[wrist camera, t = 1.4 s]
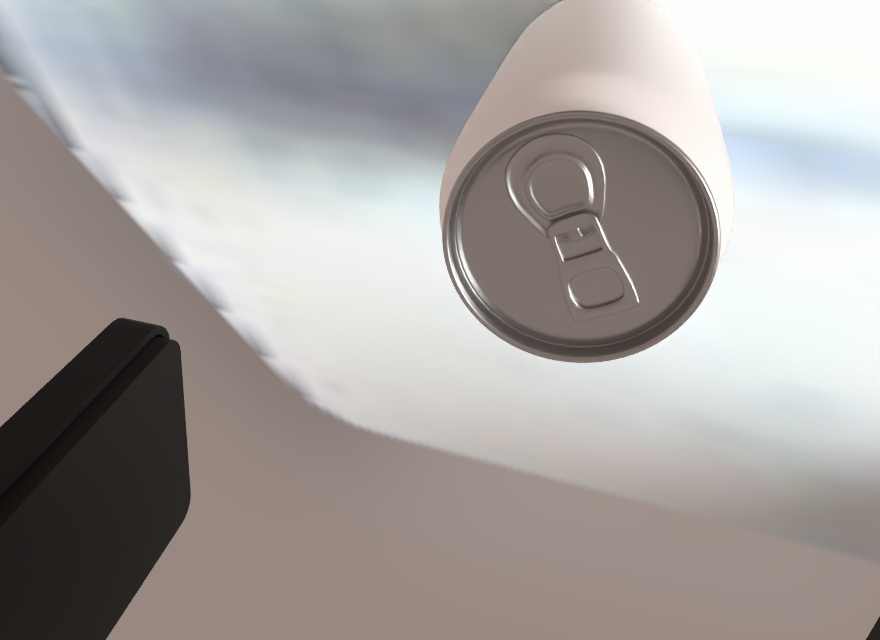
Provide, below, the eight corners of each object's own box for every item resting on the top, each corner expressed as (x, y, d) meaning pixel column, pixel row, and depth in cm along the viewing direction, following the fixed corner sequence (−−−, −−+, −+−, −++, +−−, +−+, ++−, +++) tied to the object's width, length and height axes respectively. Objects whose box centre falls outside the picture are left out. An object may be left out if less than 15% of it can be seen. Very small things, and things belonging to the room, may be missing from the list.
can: (669, -51, 24) (688, 32, 14) (729, 147, 27) (781, 337, 17) (472, 36, 27) (369, 159, 17) (544, 210, 29) (493, 408, 19)
